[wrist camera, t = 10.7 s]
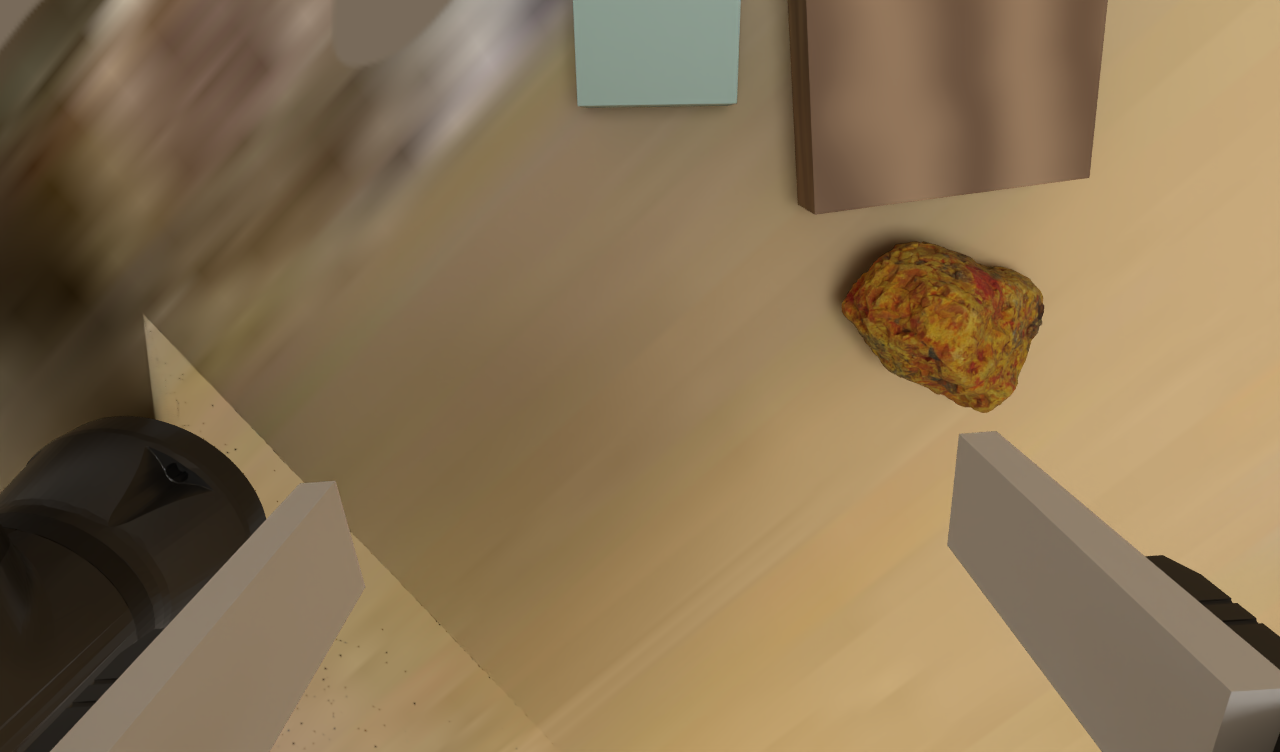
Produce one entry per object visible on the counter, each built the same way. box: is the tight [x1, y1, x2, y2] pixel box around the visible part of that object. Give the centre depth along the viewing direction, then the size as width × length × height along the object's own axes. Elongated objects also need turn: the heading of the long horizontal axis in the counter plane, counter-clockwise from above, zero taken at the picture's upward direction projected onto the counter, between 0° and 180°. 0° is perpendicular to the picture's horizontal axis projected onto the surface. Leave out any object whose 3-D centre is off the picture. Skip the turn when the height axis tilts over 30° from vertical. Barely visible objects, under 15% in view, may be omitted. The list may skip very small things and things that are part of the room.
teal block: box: [573, 0, 741, 108], centre depth 34 cm, size 8×8×5 cm
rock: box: [842, 241, 1044, 413], centre depth 39 cm, size 11×8×10 cm
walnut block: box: [788, 0, 1108, 214], centre depth 34 cm, size 14×14×5 cm
